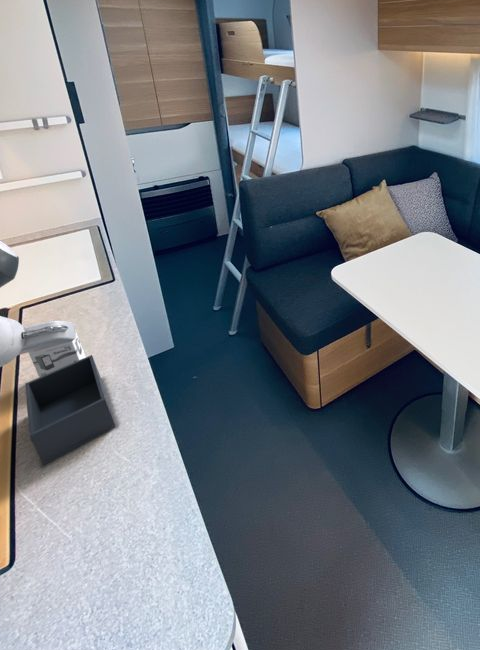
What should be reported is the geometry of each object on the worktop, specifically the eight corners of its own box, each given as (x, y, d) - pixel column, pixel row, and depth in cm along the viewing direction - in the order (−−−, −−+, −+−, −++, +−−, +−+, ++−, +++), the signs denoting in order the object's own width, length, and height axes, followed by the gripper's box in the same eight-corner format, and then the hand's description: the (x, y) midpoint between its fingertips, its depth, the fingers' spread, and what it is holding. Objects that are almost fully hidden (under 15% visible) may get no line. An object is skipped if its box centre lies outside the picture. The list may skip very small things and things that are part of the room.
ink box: (42, 386, 96) (24, 348, 91) (46, 372, 100) (29, 334, 95) (85, 373, 99) (70, 335, 95) (88, 359, 103) (73, 322, 99)
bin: (38, 410, 90) (24, 383, 87) (101, 380, 97) (91, 354, 94) (44, 465, 79) (29, 436, 76) (115, 426, 86) (105, 399, 83)
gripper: (60, 308, 77) (86, 318, 89) (-83, 341, 70) (-34, 348, 82) (62, 342, 75) (88, 348, 87) (-86, 380, 68) (-35, 380, 80)
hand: (28, 348), depth 84 cm, fingers open, 8 cm apart
